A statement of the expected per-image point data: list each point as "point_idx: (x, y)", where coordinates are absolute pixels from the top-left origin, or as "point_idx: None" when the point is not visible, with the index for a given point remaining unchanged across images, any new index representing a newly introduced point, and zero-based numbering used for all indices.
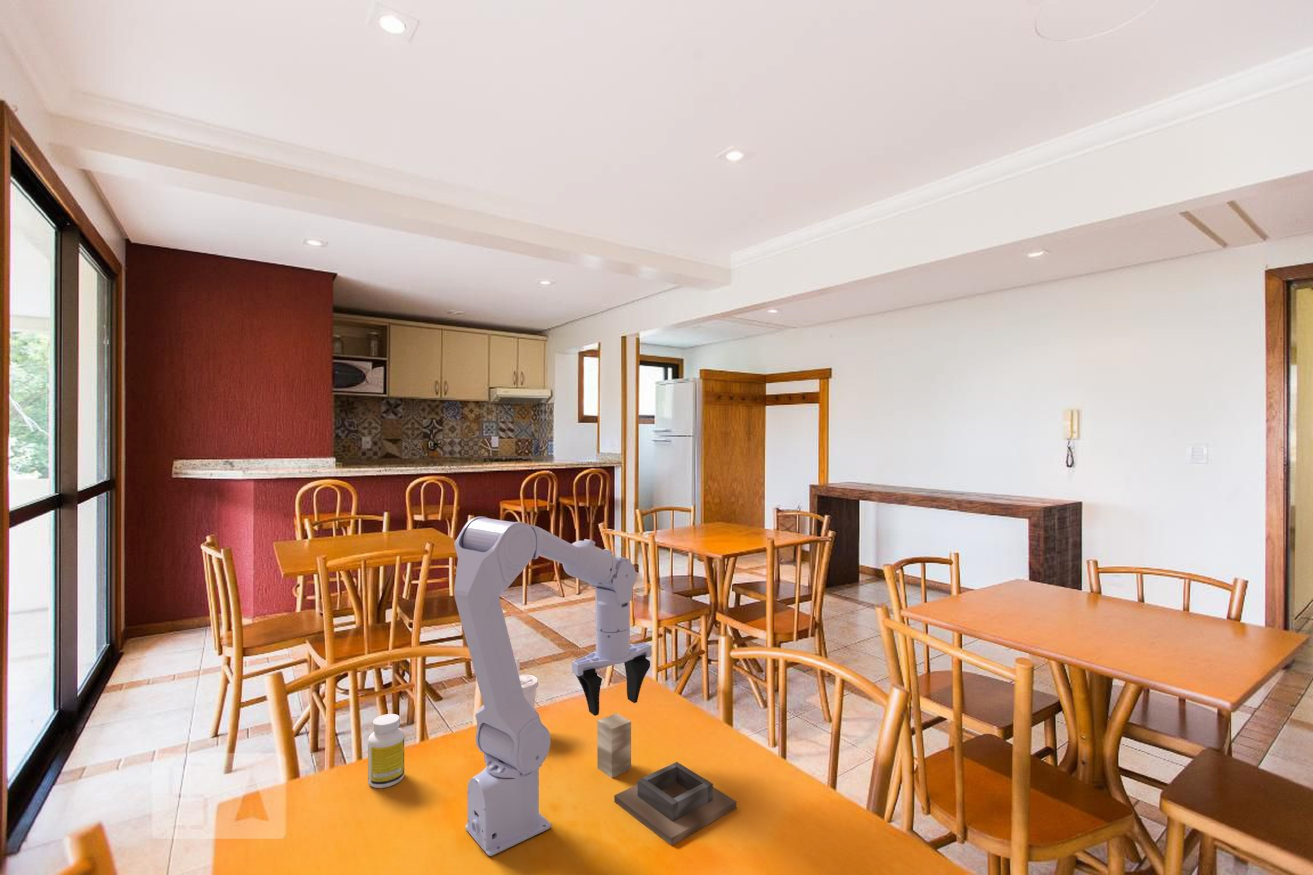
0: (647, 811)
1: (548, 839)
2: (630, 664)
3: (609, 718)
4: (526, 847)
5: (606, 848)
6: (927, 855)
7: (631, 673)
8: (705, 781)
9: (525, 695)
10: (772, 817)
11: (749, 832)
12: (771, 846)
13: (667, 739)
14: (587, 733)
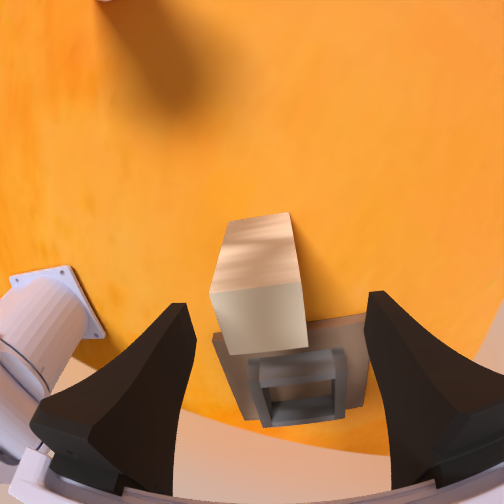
0: (243, 386)
1: (103, 346)
2: (419, 445)
3: (255, 301)
4: (79, 343)
5: None
6: None
7: (405, 408)
8: (340, 413)
9: None
10: (376, 415)
11: (336, 423)
12: (335, 436)
13: (440, 198)
14: (279, 42)
